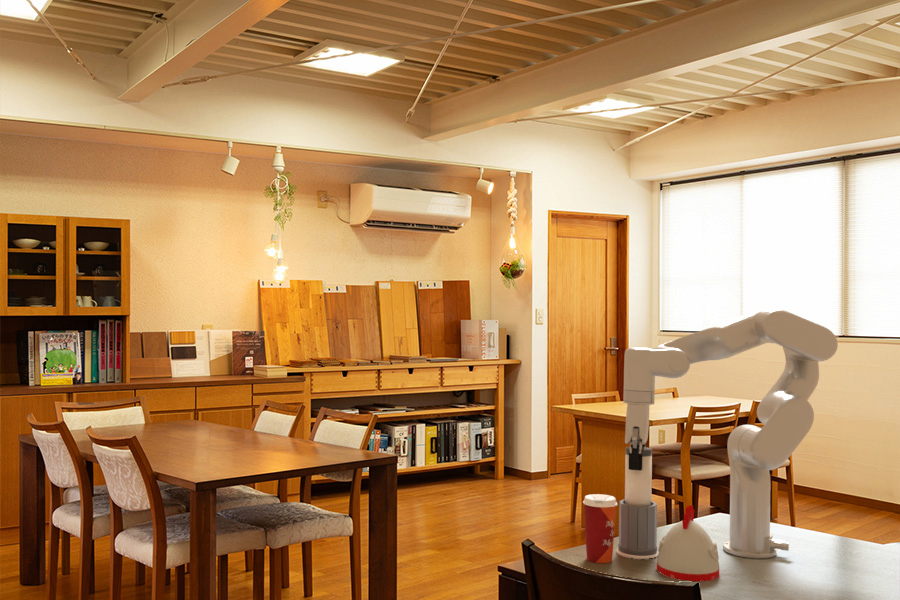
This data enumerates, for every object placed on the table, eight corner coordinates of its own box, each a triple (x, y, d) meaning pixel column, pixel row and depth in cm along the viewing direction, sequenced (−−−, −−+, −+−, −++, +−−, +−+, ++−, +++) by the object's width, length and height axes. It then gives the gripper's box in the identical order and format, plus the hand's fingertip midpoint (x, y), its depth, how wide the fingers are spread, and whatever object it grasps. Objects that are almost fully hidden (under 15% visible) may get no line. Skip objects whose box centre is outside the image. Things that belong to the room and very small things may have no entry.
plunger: (654, 517, 208) (654, 448, 208) (647, 523, 202) (648, 451, 202) (628, 514, 211) (629, 445, 211) (621, 520, 205) (622, 449, 205)
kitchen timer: (724, 568, 195) (725, 504, 195) (712, 585, 183) (713, 517, 183) (665, 559, 202) (666, 497, 202) (649, 575, 190) (650, 509, 190)
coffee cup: (616, 566, 196) (617, 502, 196) (581, 563, 198) (582, 500, 198) (616, 555, 204) (617, 494, 204) (582, 553, 206) (583, 492, 206)
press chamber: (662, 551, 208) (663, 501, 209) (652, 561, 200) (652, 509, 200) (623, 545, 213) (624, 496, 213) (611, 555, 204) (612, 504, 204)
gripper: (627, 393, 216) (625, 459, 216) (619, 399, 200) (617, 471, 200) (657, 395, 214) (655, 462, 214) (651, 401, 197) (649, 474, 197)
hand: (637, 466), depth 207 cm, fingers open, 9 cm apart
